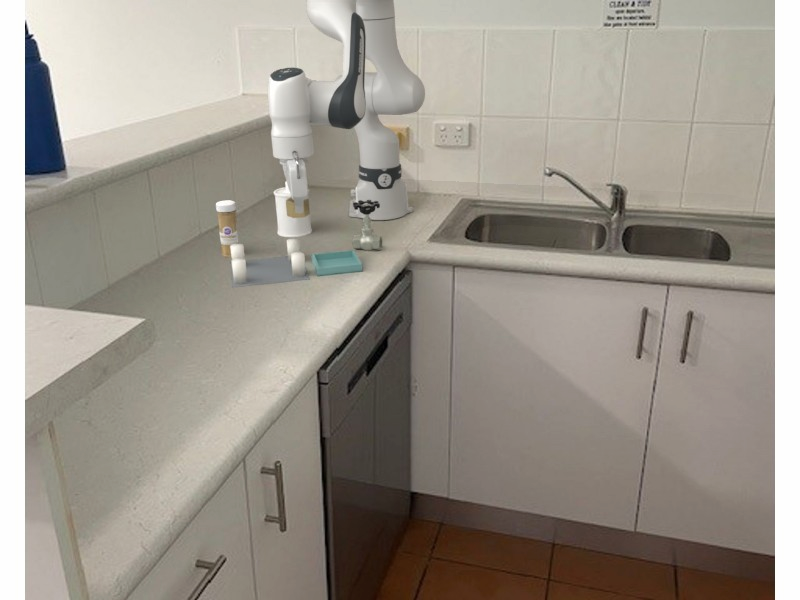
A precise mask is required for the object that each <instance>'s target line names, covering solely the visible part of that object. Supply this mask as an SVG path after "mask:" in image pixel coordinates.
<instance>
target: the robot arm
mask: <svg viewBox="0 0 800 600" xmlns="http://www.w3.org/2000/svg"><path fill="white" fill-rule="evenodd" d="M305 2H306V3H305V10H306V14H307V17H308V19H309V22H311V24H312V25H313V26H314V27H315V28H316V30H318V31H319V32H321V34H323V35H325V36H327V37H329V38H331V39H333V40H335V41H338V42H340V43H341V44H342V46H343V52H342V54H343V55H342V73H341V74H340V75H338V76H337V77H336V78H335V79H334V80H333V81H332V80H331V81H330V80H312V79H311V78H308V77H306V73H305V71H304V70H303V69H302V68H298V67H285V68H284V67H283V68H280V69H276V70H274V71H273V72H271V74H270V75H269V76H268V82H267V83H268V84H267V107H268V115H269V118H270V121H271V130H270V137H271V148H272V157H273V158H275V159H279V164H280V165H281V166H282V170H283V174H284V178H285V182H286V181H287V184H288V188H289V191H290V194H291V198H292V200H294V204H295V212H296V213H297V214H299V213H303V212H304V209H303V202H304V199H308V195H309V194H310V192H309V193H308V189H309V184H308V183H309V182H308V175H307V174H308V173H307V168H306V167H307V166H306V164H308V163H309V161H310V160H309V158H310V157H312V156H314V154H315V152H314V150H315V149H314V139H313V137H314V136H313V129H312V127H311V126H316V127H319V126H320V127H321V126H322V127H333V128H338V129H344V130H351V129H354V131H355V133H356V137H357V142H358V150H359V161H360V163H359V165H358V178H359V179H358V181H357V183H356V186H355V188H354V189H353V188H351V189H350V198H354V199H350V200H349V211H348V216H349V218H360V219H363V218H364V217H365V214H363V213H361V212H360V210H359V208H358V210H355V209H354V207H353V203H354V202H357V203H358V201H359V200H362V201H367V200H371V202H374V201H378V203H379V204H380V208H377V206H376V209H375V211H374V212H371V214H369V217H370V218H371V220H373V221H384V220H385V221H388V220H394V219H399V218H402V217H405V216H406V215H407V214H410V213H412V212H414V207H413V206H411V205H409V200H408V186H407V183H406V182H405V181H404V180H403V179H402V171H403V170H402V164H401V163H400V160H401V159H400V139H399V137H398V134H397V133H396V132H395V131H394V130H392V129H391V128H389V127H387V126H385V125H384V124H383V123H382V122H381V120H380V118H379V115H389V116H390V115H391V116H402V115H409V114H413V113H417V112H418V111H419V110H421V108H422V106H423V104H424V102H425V99H426V91H425V86H424V83H423V81H422V80H421V78H420V77H419V76H418V75H416V74H415V73H414V72H413V71H412V70H410V68H409V67H408V65H406V63H405V61H404V60H403V57H402V56H401V53H400V50H399V47H398V46H399V45H398V40H397V30H396V14H395V13H396V12H395V10H396V9H395V3H394V0H306V1H305ZM366 60H368V61H370V63H371V64H372V65H373V66H374V67H375V70H376V72H375V71H373V72H366ZM309 196H310V195H309Z"/></svg>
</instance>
